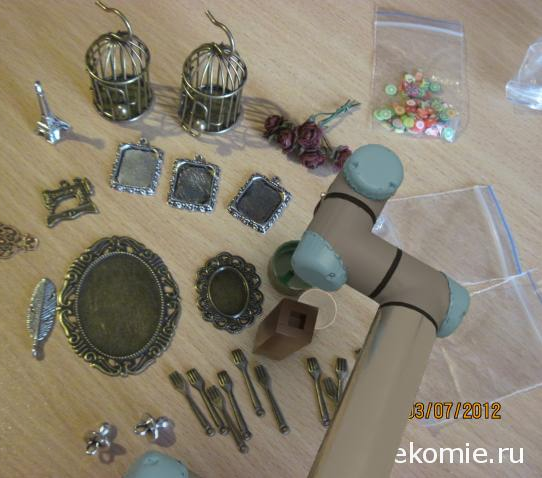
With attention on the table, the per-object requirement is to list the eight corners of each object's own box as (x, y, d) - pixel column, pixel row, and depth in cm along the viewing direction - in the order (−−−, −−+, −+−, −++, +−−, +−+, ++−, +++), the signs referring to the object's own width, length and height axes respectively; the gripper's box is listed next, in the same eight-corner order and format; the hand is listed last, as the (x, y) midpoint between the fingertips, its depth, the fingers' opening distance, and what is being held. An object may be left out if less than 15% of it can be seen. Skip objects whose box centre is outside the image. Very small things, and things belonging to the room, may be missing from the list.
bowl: (309, 302, 117) (317, 296, 111) (261, 288, 117) (266, 281, 111) (320, 256, 121) (327, 248, 115) (273, 243, 121) (279, 234, 115)
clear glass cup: (323, 302, 117) (337, 291, 108) (322, 339, 115) (336, 331, 105) (287, 297, 117) (298, 286, 107) (285, 334, 114) (295, 326, 105)
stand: (279, 361, 112) (311, 343, 88) (251, 352, 112) (275, 332, 88) (286, 332, 114) (319, 307, 90) (258, 324, 114) (284, 297, 90)
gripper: (329, 162, 87) (296, 215, 109) (308, 246, 82) (278, 284, 104) (374, 175, 87) (332, 226, 109) (357, 260, 82) (316, 295, 104)
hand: (306, 254), depth 107 cm, fingers closed on stick, 1 cm apart
